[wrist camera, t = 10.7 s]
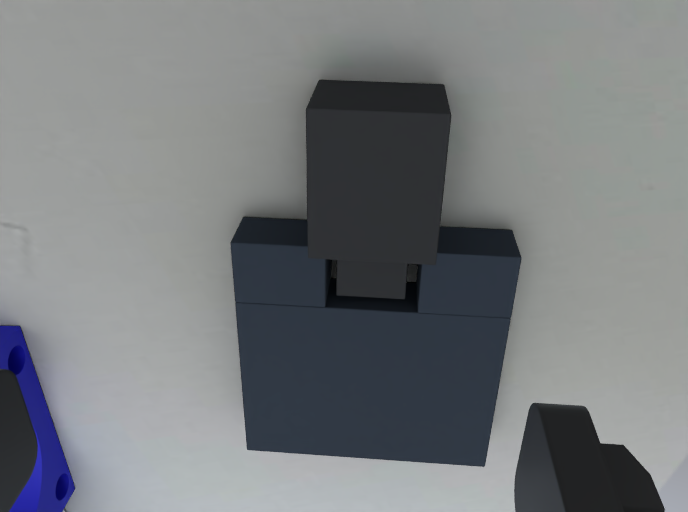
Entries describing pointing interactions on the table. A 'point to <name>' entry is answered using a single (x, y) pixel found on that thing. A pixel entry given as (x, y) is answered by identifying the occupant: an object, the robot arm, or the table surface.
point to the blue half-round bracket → (36, 432)
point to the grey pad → (372, 348)
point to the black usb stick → (375, 180)
